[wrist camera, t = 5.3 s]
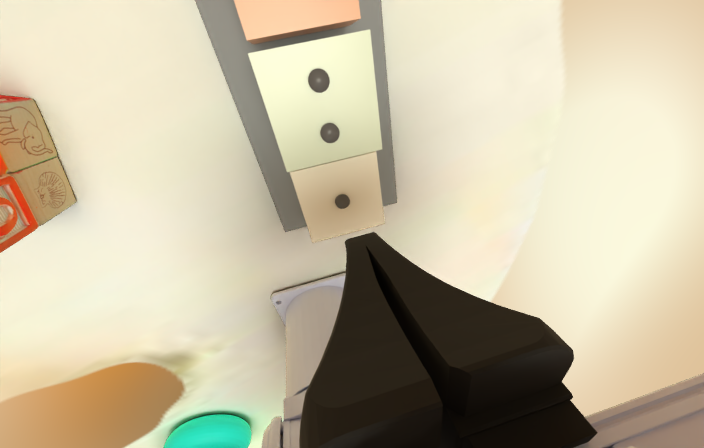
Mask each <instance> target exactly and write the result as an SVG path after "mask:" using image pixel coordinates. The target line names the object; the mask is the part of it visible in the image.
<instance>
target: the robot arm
mask: <svg viewBox="0 0 704 448" xmlns="http://www.w3.org/2000/svg"><path fill="white" fill-rule="evenodd" d="M345 245H346V251H347V263H346V273H343V274H339V275H336V276H332V277H329V278H325V279H322V280H318V281H315V282H311V283H308V284H304V285H301V286H297V287H293V288H290V289H286V290H283V291H279V292H276V293H273V294H272V296H271V300H272V302H273V304H274V306H275V308H276V310H277V312H278V314H279V316H280V318H281V320H282V321H283V323H284V325H285V327H286V398H285V399H284V422H282V418H281V416H280V417H275V418H273V419H272V421H271V424H270V425H269V426H268V427H267V429H266V430H265V432H264V435H263V441H262V448H704V373H703V374H700V375H698V376H695V377H692V378H690V379H687V380H684V381H681V382H679V383H676V384H673V385H671V386H668V387H665V388H662V389H660V390H657V391H654V392H652V393H649V394H646V395H643V396H641V397H638V398H635V399H633V400H630V401H627V402H624V403H622V404H619V405H616V406H614V407H611V408H608V409H605V410H603V411H600V412H598V413H595V414H592V415H589V416H587V417H584V416H583V415H582V414H581V413H580V411H579V410H578V409H577V408H576V407H575V405H574V404H573V403H572V402H571V401H570V399H572V398H573V396H572V394H571V392H570V391H569V390H568V389H567V388H566V386H565V385H564V384H563V383H562V380H563V378H564V377H565V375H566V373H567V371H568V370H569V368H570V367H571V364H572V362H573V359H574V355H573V350H572V349H571V348H570V347H569V346H568V345H567V344H566V343H565V342H564V341H563V340H562V339H561V338H560V337H559V336H558V335H557V334H556V333H555V332H554V331H553V330H552V329H551V328H550V327H549V326H548V325H546V324H545V323H544V322H543V321H542V320H541V319H540V318H537V317H534V316H530V315H527V314H524V313H521V312H518V311H514V310H511V309H508V308H505V307H501V306H499V305H496V304H494V303H491V302H488V301H486V300H483V299H480V298H478V297H475V296H473V295H471V294H469V293H466V292H464V291H462V290H460V289H457V288H455V287H453V286H451V285H449V284H447V283H445V282H443V281H441V280H439V279H438V278H436V277H434V276H432V275H431V274H429V273H427V272H426V271H424V270H422V269H421V268H419V267H418V266H416V265H415V264H413V263H412V262H410V261H409V260H408V259H406V258H405V257H404V256H402V255H401V254H400V253H398V252H397V251H396V250H394V249H393V248H392V247H391V246H390V245H388V244H387V243H386V242H385V241H384V240H383V239H381V238H380V237H379V236H378V235H377V234H376V233H374V232H372V233H369V234H365V235H361V236H358V237H354V238H350V239H347V240H346V241H345Z"/></svg>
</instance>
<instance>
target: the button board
mask: <svg viewBox="0 0 704 448" xmlns="http://www.w3.org/2000/svg"><path fill="white" fill-rule="evenodd" d="M195 2H196V4H197V7H198V9H199V12H200V14H201V17H202V20H203V22H204V25H205V27H206V30H207V32H208V35H209V38H210V40H211V43H212V45H213V48H214V50H215V53H216V56H217V58H218V61H219V63H220V66H221V68H222V71H223V73H224V76H225V79H226V81H227V84H228V86H229V89H230V91H231V94H232V97H233V99H234V102H235V104H236V107H237V109H238V112H239V115H240V117H241V120H242V122H243V125H244V127H245V130H246V133H247V135H248V138H249V140H250V143H251V145H252V148H253V150H254V153H255V156H256V158H257V161H258V163H259V166H260V168H261V171H262V174H263V176H264V179H265V181H266V184H267V186H268V189H269V192H270V194H271V197H272V199H273V202H274V204H275V207H276V210H277V212H278V215H279V217H280V220H281V222H282V225H283V227H284V230H285V232H287V231H291V230H295V229H299V228H302V227H306V226H307V224H306V221H305V218H304V215H303V212H302V209H301V206H300V203H299V199H298V196H297V193H296V190H295V187H294V184H293V181H292V178H291V175H290V172H287V171H286V168H285V164H284V161H283V158H282V155H281V152H280V149H279V146H278V143H277V140H276V137H275V134H274V131H273V128H272V125H271V122H270V119H269V116H268V113H267V110H266V107H265V104H264V101H263V98H262V95H261V92H260V89H259V86H258V83H257V80H256V77H255V74H254V71H253V68H252V65H251V62H250V59H249V56H248V53H252V52H258V51H263V50H268V49H273V48H278V47H283V46H288V45H293V44H298V43H303V42H308V41H313V40H318V39H323V38H329V37H334V36H339V35H344V34H349V33H354V32H359V31H364V30H369V29H370V33H371V42H372V52H373V62H374V72H375V81H376V91H377V101H378V111H379V120H380V130H381V140H382V149H381V150H377V151H376V153H377V161H378V170H379V179H380V187H381V196H382V204H383V206H386V205H390V204H394V203H397V195H396V183H395V170H394V158H393V145H392V133H391V120H390V108H389V95H388V82H387V70H386V57H385V45H384V32H383V20H382V7H381V0H359V7H360V16H361V19H359V20H358V21H356V22H354V23H353V24H351V25H350V26H345V27H340V28H335V29H330V30H325V31H320V32H315V33H309V34H304V35H299V36H294V37H289V38H284V39H279V40H273V41H268V42H263V43H258V44H252V43H250V42H248V41H247V40H246V36H245V33H244V30H243V27H242V24H241V21H240V18H239V15H238V12H237V9H236V6H235V3H234V0H195Z"/></svg>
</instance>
